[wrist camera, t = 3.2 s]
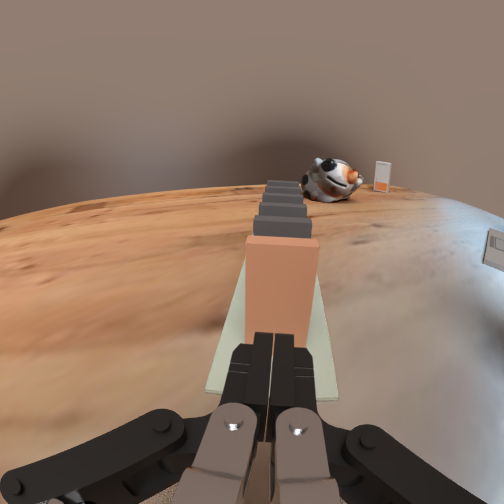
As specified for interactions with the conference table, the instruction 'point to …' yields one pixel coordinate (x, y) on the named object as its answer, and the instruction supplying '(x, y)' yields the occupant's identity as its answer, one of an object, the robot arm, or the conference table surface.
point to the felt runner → (236, 334)
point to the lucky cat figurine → (330, 180)
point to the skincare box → (382, 176)
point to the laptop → (495, 250)
